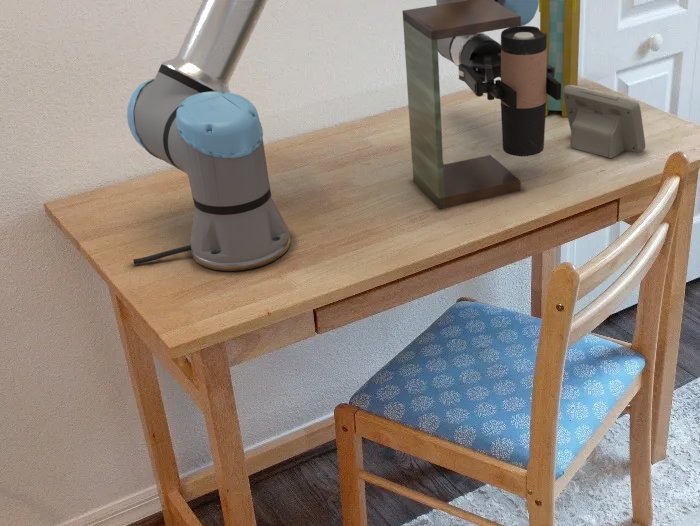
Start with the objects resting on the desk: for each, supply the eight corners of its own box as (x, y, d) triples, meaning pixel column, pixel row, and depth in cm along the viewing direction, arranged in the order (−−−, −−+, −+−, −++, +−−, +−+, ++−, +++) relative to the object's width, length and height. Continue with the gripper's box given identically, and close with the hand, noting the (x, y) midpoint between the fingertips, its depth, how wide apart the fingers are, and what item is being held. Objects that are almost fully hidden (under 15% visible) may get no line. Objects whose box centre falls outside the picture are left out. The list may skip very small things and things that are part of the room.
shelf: (439, 209, 167) (431, 30, 150) (413, 181, 176) (402, 10, 159) (520, 191, 172) (521, 16, 155) (490, 165, 181) (488, -3, 164)
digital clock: (650, 152, 183) (655, 96, 177) (615, 166, 179) (619, 109, 173) (587, 127, 194) (589, 73, 188) (552, 140, 189) (554, 85, 183)
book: (571, 116, 198) (575, -14, 184) (537, 115, 200) (539, -15, 185) (580, 86, 212) (585, -38, 197) (549, 85, 213) (551, -38, 199)
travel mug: (496, 155, 173) (494, 38, 161) (507, 137, 179) (507, 24, 167) (539, 159, 171) (541, 41, 159) (549, 141, 177) (552, 27, 165)
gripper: (529, 67, 187) (590, 107, 170) (428, 85, 181) (480, 129, 164) (529, 26, 183) (592, 63, 166) (425, 43, 176) (480, 84, 159)
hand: (536, 96), depth 165 cm, fingers closed on travel mug, 7 cm apart
